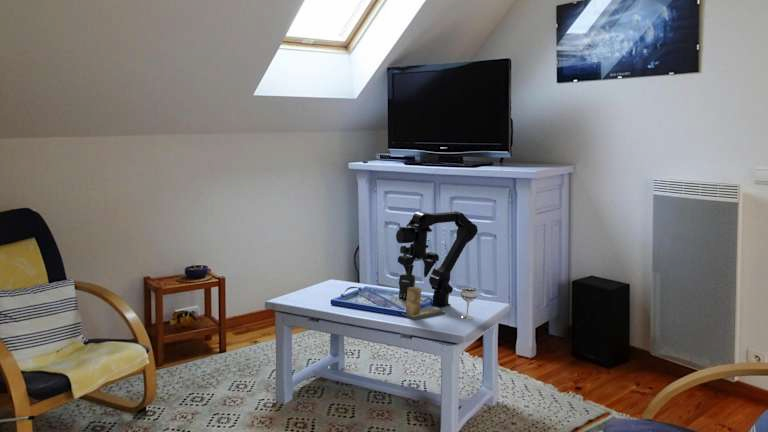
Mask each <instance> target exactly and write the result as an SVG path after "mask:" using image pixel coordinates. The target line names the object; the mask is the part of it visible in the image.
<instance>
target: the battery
mask: <svg viewBox="0 0 768 432" xmlns="http://www.w3.org/2000/svg"><path fill="white" fill-rule="evenodd" d="M398 278H399V279H398V287H399V291H398V292H399V293H398V298H399V299H402V300H407V289H408V288H409V287H416V276H415V274H413V273H412V275H411V278H410V280H408V278H407V274H406V272H402V273H401V274H400V275H399V277H398Z"/></svg>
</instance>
